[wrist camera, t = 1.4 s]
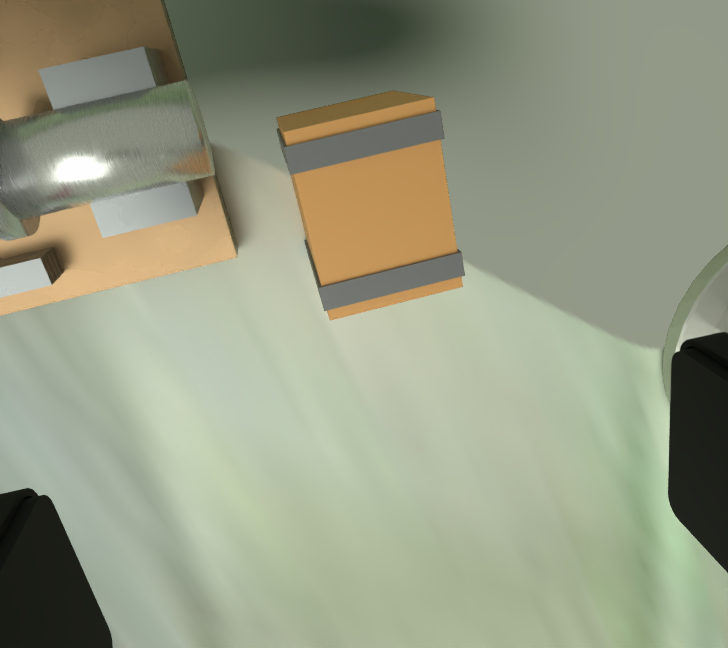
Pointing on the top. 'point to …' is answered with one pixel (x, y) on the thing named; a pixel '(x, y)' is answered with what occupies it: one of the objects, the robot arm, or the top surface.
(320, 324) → the top surface
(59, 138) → the shaft bench
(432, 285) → the block
